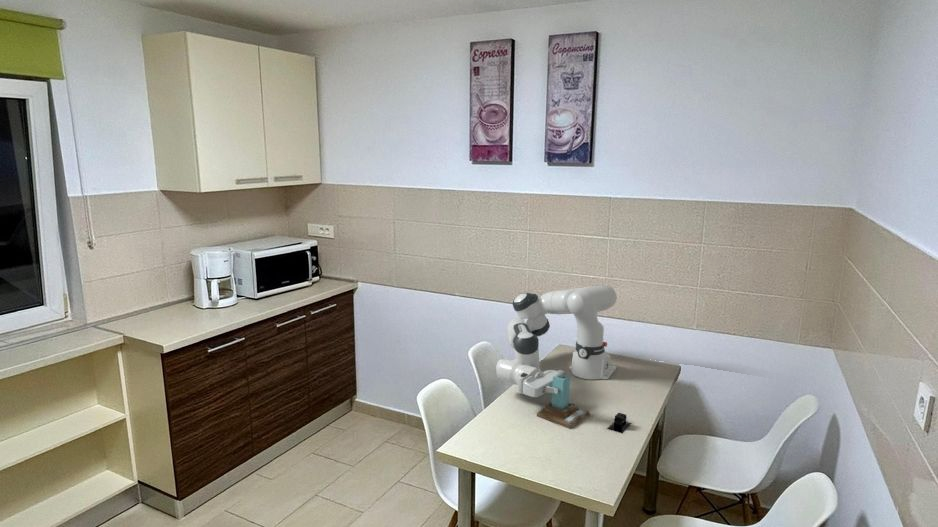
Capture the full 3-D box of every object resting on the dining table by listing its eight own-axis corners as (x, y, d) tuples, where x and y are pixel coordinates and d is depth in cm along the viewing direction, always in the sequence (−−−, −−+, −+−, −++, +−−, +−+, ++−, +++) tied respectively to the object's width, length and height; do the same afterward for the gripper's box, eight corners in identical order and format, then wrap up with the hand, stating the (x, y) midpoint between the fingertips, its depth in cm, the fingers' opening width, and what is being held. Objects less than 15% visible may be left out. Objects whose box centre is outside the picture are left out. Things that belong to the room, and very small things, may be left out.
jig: (557, 403, 209) (557, 394, 208) (589, 415, 200) (590, 405, 199) (536, 416, 198) (537, 406, 198) (569, 428, 189) (570, 418, 188)
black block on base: (622, 437, 185) (623, 425, 184) (602, 430, 189) (603, 418, 188) (635, 423, 195) (636, 411, 194) (616, 417, 199) (617, 406, 198)
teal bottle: (558, 403, 202) (559, 368, 200) (568, 407, 200) (570, 371, 197) (551, 407, 199) (553, 371, 196) (561, 411, 196) (563, 374, 194)
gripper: (546, 378, 215) (577, 388, 206) (515, 394, 199) (547, 405, 190) (547, 363, 213) (577, 372, 204) (516, 378, 198) (548, 389, 189)
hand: (562, 388), depth 197 cm, fingers closed on teal bottle, 4 cm apart
